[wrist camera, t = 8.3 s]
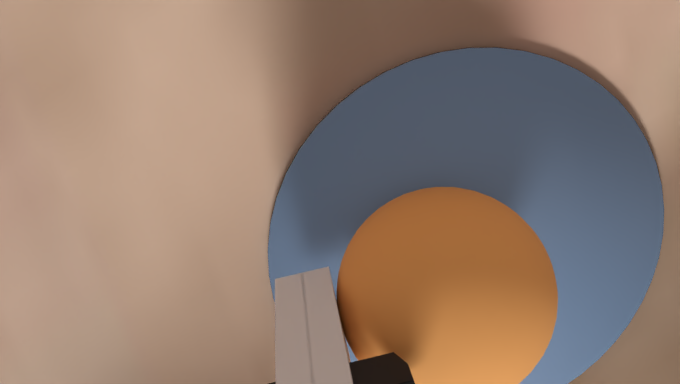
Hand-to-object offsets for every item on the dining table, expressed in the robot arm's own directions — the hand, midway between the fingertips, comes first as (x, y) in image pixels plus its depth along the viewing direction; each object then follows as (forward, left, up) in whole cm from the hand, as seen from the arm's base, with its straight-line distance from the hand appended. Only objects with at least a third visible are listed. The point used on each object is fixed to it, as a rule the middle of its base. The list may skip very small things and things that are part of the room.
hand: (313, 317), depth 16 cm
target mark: (-5, 0, -2) cm, 5 cm away
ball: (-3, 0, +1) cm, 3 cm away
